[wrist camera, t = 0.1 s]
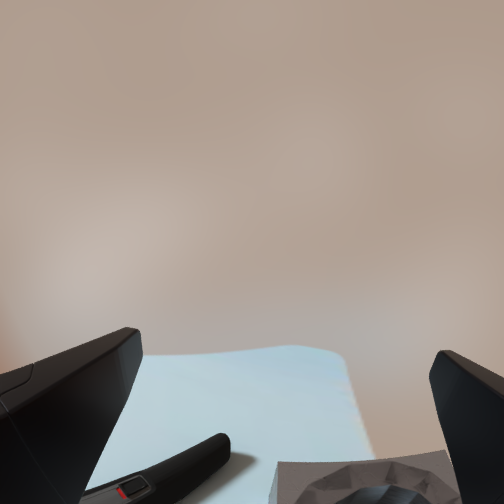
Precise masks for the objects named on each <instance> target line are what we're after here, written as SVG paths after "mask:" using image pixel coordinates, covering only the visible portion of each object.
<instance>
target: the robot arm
mask: <svg viewBox="0 0 504 504" xmlns="http://www.w3.org/2000/svg"><path fill="white" fill-rule="evenodd" d="M142 357H143V351H142V343H141V334H140V331H139V330H138V329H135V328H129V327H125V328H122V329H120V330H117V331H115V332H112V333H110V334H107V335H105V336H102V337H100V338H97V339H94V340H92V341H89V342H87V343H84V344H82V345H79V346H77V347H74V348H71V349H69V350H66V351H64V352H61V353H58V354H56V355H53V356H50V357H48V358H45V359H43V360H40V361H37V362H35V363H34V364H33V363H32V364H29V365H26V366H24V367H21V368H18V369H15V370H12V371H9V372H6V373H3V374H0V504H79V502H80V500H81V498H82V495H83V493H84V491H85V489H86V486H87V484H88V482H89V480H90V478H91V475H92V473H93V471H94V469H95V467H96V465H97V462H98V460H99V458H100V456H101V454H102V452H103V450H104V447H105V445H106V443H107V441H108V439H109V437H110V435H111V433H112V431H113V429H114V427H115V425H116V423H117V421H118V418H119V416H120V414H121V412H122V410H123V408H124V406H125V404H126V402H127V400H128V397H129V395H130V392H131V389H132V386H133V383H134V381H135V378H136V375H137V372H138V369H139V367H140V364H141V361H142ZM429 380H430V384H431V388H432V393H433V397H434V401H435V406H436V410H437V414H438V418H439V422H440V425H441V428H442V431H443V434H444V438H445V441H446V444H447V447H448V451H449V454H450V458H451V461H452V465H453V469H454V472H455V476H456V480H457V484H458V488H459V492H460V496H461V501H462V504H504V378H503V377H501V376H499V375H497V374H496V373H494V372H492V371H490V370H488V369H486V368H484V367H482V366H480V365H478V364H476V363H474V362H473V361H471V360H469V359H467V358H465V357H463V356H461V355H459V354H457V353H455V352H453V351H451V350H442V351H439V352H438V353H437V355H436V358H435V360H434V363H433V365H432V368H431V370H430V373H429Z"/></svg>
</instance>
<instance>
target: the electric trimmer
mask: <svg viewBox="0 0 504 504" xmlns="http://www.w3.org/2000/svg"><path fill="white" fill-rule="evenodd" d="M230 454H231V443H230V439H229V437H228V436H227V435H226V434H224V433H218V434H216V435H214V436H212V437H210V438H209V439H207V440H205V441H203V442H201V443H199V444H197V445H195V446H193V447H191V448H189V449H187V450H185V451H183V452H181V453H179V454H177V455H175V456H173V457H171V458H169V459H167V460H165V461H163V462H160V463H158V464H156V465H154V466H152V467H149V468H147V469H145V470H142V471H139V472H135V473H132V474H130V475H127V476H124V477H122V478H119V479H117V480H114V481H111V482H109V483H106V484H103V485H100V486H98V487H95V488H92V489H89V490H86V491H84V493H83V495H82V498H81V500H80V502H79V504H174V503H176V502H177V501H179V500H180V499H182V498H183V497H185V496H186V495H187V494H189V493H190V492H191V491H192V490H194V489H195V488H196V487H198V486H199V485H200V484H201V483H203V482H204V481H205V480H206V479H207V478H209V477H210V476H211V475H212V474H214V473H215V472H216V471H217V470H218V469H220V468H221V467H222V466H223V465H224V464H225V463H226V462H227V461H228V460H229V458H230Z"/></svg>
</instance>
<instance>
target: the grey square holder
mask: <svg viewBox="0 0 504 504" xmlns="http://www.w3.org/2000/svg"><path fill="white" fill-rule="evenodd" d="M269 504H462V501H461V496H460V492H459V488H458V484H457V480H456V476H455V472H454V469H453V467H452V464H451V462H450V460H449V458H448V455H447V453H446V451H445V450H440V451H435V452H430V453H424V454H418V455H411V456H404V457H397V458H388V459H378V460H366V461H351V462H278V464H277V468H276V471H275V475H274V479H273V483H272V487H271V490H270V494H269Z"/></svg>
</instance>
